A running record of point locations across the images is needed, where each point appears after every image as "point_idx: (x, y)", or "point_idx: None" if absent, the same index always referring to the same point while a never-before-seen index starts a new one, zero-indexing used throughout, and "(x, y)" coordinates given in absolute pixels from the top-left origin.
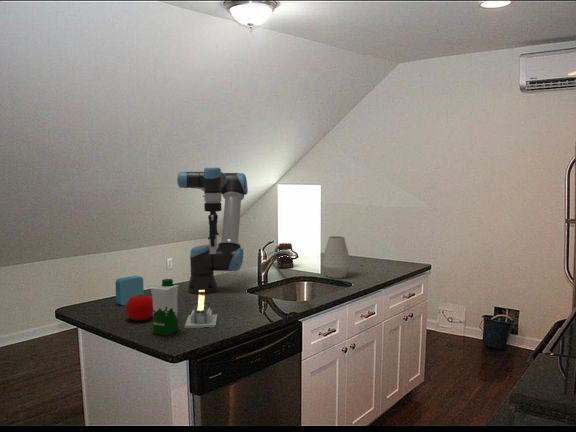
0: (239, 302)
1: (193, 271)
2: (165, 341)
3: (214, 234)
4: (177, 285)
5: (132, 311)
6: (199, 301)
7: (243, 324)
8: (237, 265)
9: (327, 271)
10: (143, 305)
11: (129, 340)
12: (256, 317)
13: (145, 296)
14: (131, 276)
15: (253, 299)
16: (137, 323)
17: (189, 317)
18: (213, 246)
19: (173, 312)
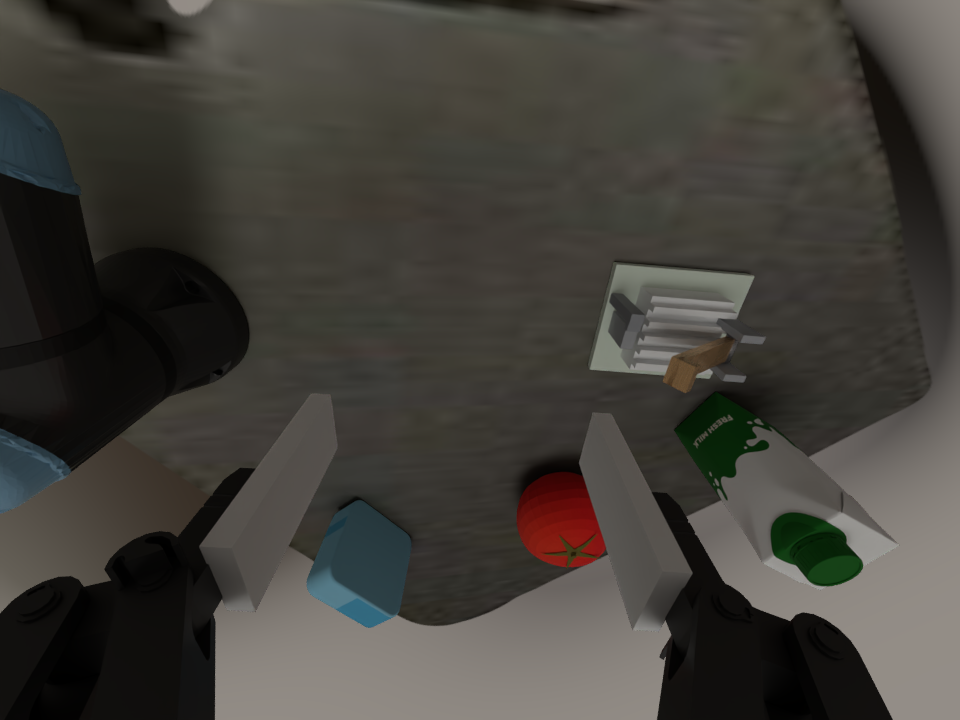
0: (398, 135)
1: (151, 408)
2: (800, 418)
3: (879, 711)
4: (847, 516)
5: None
6: (704, 367)
7: (772, 146)
8: (29, 110)
9: None
10: None
11: None
12: (696, 56)
13: (581, 538)
14: (331, 603)
15: (337, 30)
16: None
17: (619, 366)
18: (663, 501)
19: (798, 448)
